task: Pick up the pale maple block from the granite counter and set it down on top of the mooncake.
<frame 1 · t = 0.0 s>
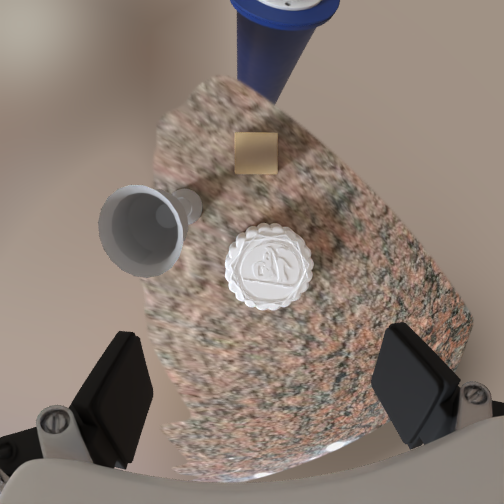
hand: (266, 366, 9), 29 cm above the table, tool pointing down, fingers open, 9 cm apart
mooncake: (267, 263, 39), on the table
chalice: (184, 206, 36), on the table
block: (254, 156, 35), on the table
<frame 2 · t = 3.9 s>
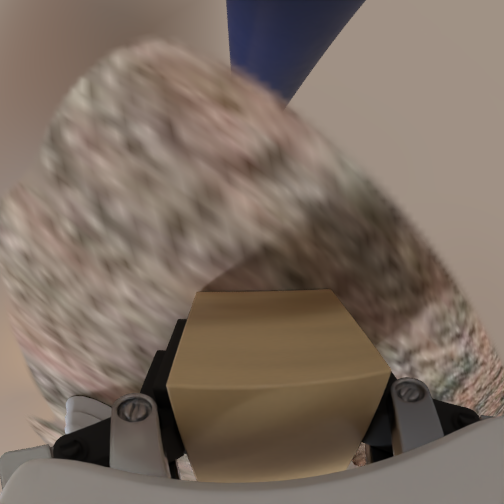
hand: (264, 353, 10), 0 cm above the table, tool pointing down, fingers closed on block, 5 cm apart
chalice: (102, 422, 12), on the table
block: (263, 346, 10), on the table, touching gripper
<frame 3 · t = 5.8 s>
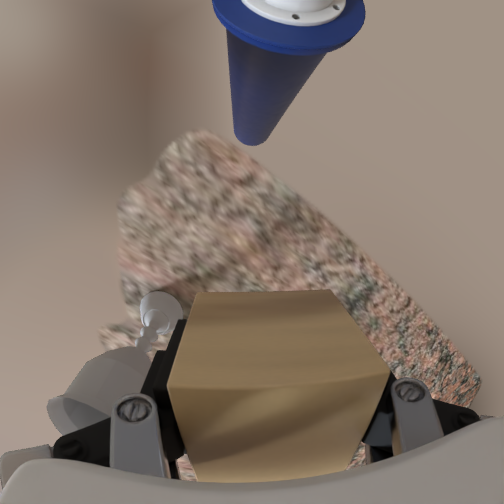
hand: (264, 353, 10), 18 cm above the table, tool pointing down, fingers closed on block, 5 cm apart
chalice: (161, 311, 29), on the table
block: (263, 346, 10), point 17 cm above the table, touching gripper
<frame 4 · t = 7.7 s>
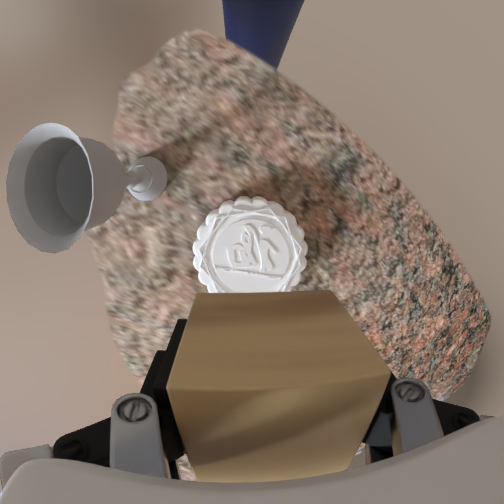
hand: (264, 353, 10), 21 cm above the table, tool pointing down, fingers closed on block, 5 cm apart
mooncake: (249, 248, 31), on the table
chalice: (146, 178, 28), on the table
block: (263, 347, 10), point 21 cm above the table, touching gripper
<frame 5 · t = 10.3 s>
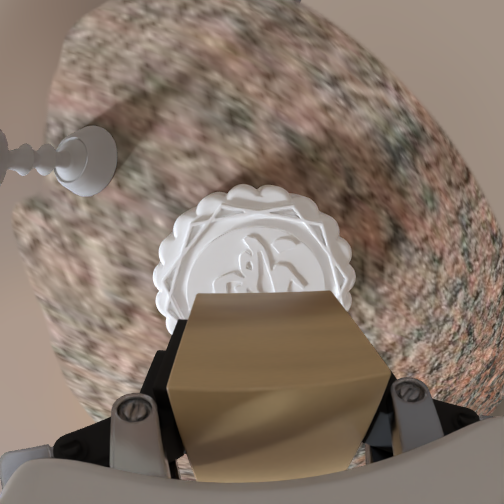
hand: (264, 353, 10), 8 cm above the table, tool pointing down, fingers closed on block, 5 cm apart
mooncake: (253, 274, 18), on the table
chalice: (88, 160, 16), on the table
block: (263, 348, 10), point 8 cm above the table, touching gripper
when the fingers open (4 cm above the table, at t = 11.9 s): block stays where it is, resting on mooncake.
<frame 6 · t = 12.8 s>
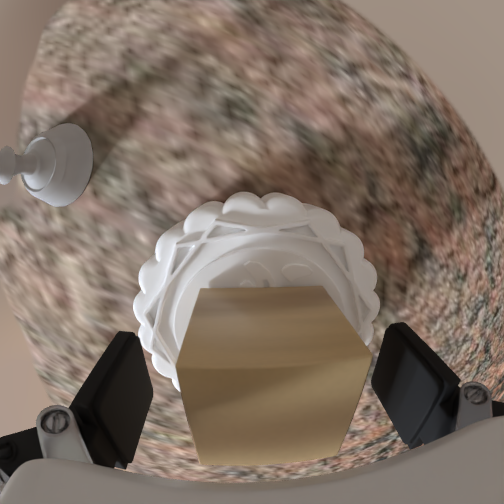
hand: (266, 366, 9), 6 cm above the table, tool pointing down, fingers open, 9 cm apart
mooncake: (256, 300, 15), on the table, touching block
chalice: (61, 164, 12), on the table
block: (261, 339, 11), point 4 cm above the table, touching mooncake
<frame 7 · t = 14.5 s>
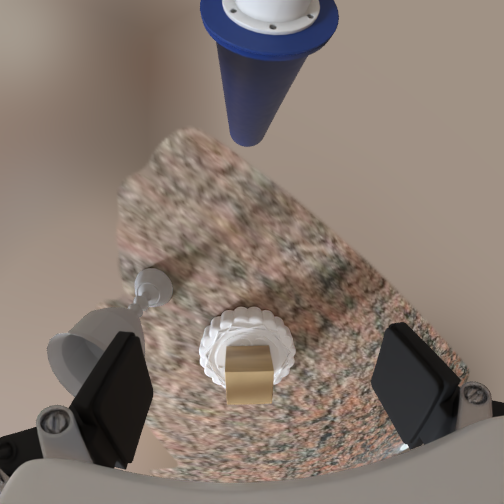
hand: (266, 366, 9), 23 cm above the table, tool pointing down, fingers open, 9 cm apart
mooncake: (246, 344, 35), on the table, touching block
chalice: (153, 287, 32), on the table
block: (247, 362, 31), point 4 cm above the table, touching mooncake
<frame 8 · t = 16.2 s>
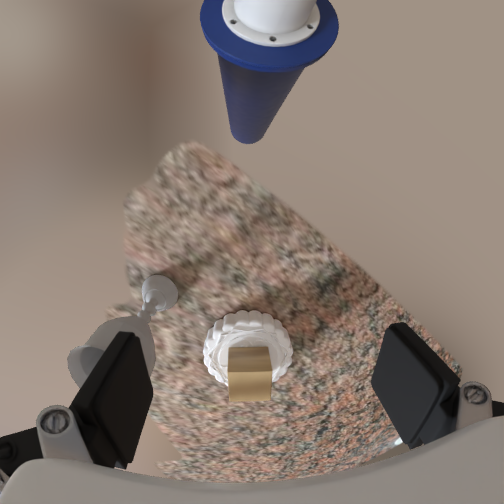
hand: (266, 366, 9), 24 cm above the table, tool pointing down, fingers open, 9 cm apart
mooncake: (247, 345, 37), on the table, touching block
chalice: (160, 292, 34), on the table
block: (248, 362, 33), point 4 cm above the table, touching mooncake
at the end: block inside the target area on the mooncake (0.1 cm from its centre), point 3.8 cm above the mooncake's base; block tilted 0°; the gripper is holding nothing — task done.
